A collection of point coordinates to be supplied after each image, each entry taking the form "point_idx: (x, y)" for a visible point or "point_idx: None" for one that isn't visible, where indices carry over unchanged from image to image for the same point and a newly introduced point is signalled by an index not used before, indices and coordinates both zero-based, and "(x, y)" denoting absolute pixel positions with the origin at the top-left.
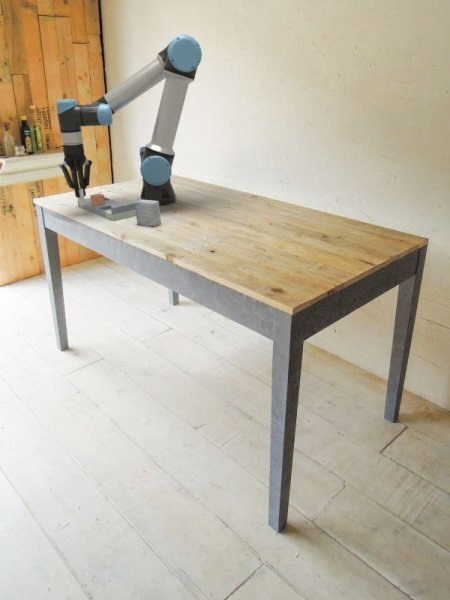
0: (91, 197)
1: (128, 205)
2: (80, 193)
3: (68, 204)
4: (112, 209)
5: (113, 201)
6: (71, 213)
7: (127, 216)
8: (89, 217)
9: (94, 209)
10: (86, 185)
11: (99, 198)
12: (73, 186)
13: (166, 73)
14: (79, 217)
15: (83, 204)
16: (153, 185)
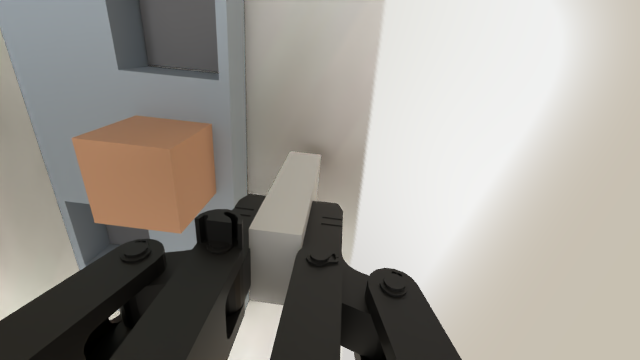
0: (187, 209)
1: None
2: (303, 205)
3: (266, 355)
4: None
5: (55, 143)
6: (346, 228)
7: None
8: (325, 54)
9: (236, 120)
10: (164, 255)
11: (139, 135)
12: (386, 292)
13: None
14: (369, 115)
15: (304, 156)
16: None
